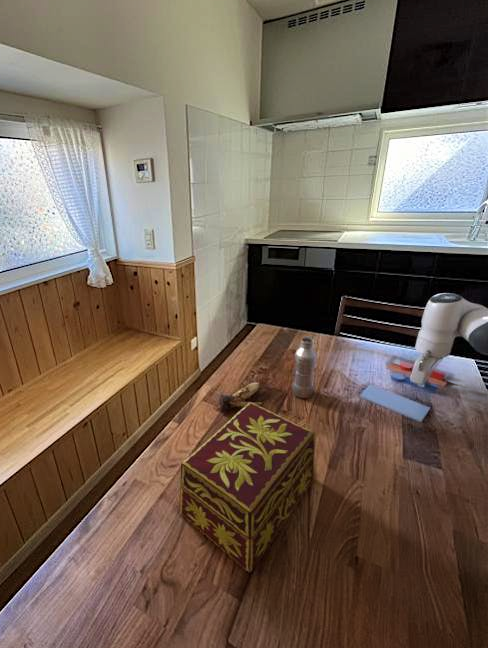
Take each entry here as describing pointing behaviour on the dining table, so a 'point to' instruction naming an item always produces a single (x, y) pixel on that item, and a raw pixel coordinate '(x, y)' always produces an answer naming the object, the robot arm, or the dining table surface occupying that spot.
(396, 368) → the terracotta mat
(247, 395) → the worn brush
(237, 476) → the decorative box
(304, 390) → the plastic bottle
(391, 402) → the blue mat
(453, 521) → the dining table surface
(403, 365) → the red spoon
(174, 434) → the dining table surface
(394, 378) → the blue spoon
